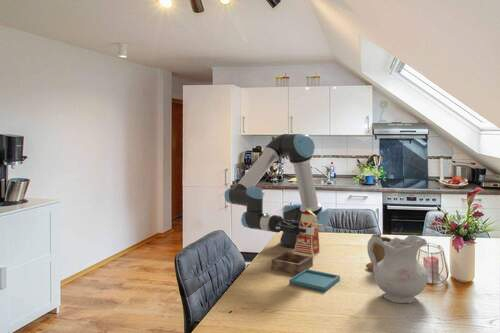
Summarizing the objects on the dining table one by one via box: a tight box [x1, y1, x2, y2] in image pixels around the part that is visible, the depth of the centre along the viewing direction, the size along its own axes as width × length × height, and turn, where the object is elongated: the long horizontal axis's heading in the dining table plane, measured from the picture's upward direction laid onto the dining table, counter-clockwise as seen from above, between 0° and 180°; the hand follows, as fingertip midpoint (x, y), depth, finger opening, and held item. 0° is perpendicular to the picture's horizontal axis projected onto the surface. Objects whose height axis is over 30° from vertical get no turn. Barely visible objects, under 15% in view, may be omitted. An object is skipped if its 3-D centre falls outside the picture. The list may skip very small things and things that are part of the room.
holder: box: [270, 251, 314, 275], centre depth 192 cm, size 14×14×4 cm
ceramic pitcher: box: [366, 233, 429, 304], centre depth 155 cm, size 22×20×25 cm
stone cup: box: [365, 236, 393, 271], centre depth 188 cm, size 15×12×15 cm
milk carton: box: [293, 207, 321, 258], centre depth 175 cm, size 9×9×20 cm
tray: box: [288, 268, 341, 293], centre depth 173 cm, size 16×16×2 cm
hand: (318, 229), depth 172 cm, fingers closed on milk carton, 8 cm apart
